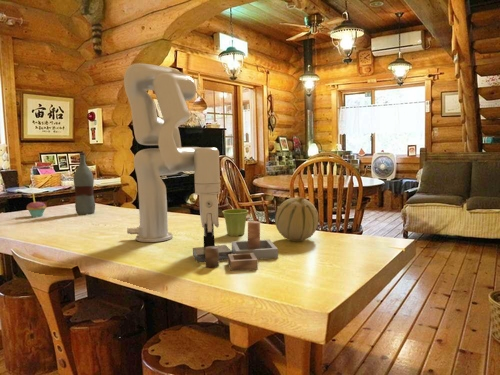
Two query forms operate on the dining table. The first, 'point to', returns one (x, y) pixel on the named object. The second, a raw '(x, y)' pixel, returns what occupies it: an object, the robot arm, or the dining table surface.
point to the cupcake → (36, 208)
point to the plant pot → (235, 221)
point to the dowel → (253, 235)
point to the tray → (264, 252)
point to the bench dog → (212, 256)
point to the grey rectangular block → (200, 253)
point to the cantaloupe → (296, 219)
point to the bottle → (84, 188)
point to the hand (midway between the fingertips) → (209, 248)
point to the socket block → (242, 261)
